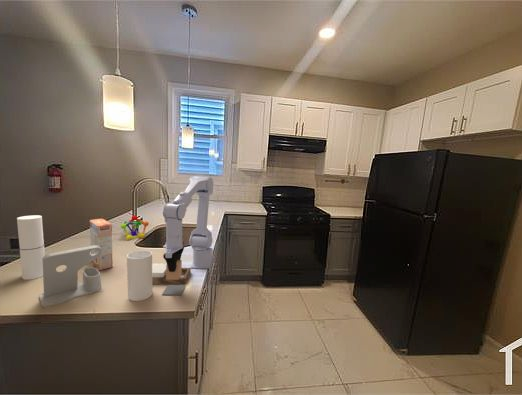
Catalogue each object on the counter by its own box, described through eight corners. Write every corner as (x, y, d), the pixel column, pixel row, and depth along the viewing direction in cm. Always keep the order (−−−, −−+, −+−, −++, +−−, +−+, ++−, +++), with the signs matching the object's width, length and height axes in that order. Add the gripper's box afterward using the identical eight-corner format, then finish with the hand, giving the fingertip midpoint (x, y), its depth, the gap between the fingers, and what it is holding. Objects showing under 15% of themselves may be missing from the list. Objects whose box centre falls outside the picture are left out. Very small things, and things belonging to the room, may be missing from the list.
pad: (185, 285, 95) (185, 284, 95) (180, 295, 88) (180, 294, 88) (167, 285, 95) (167, 284, 95) (162, 295, 88) (162, 294, 88)
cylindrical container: (19, 281, 92) (13, 219, 89) (26, 273, 99) (21, 215, 95) (42, 277, 96) (38, 218, 92) (48, 270, 102) (44, 214, 98)
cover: (170, 267, 105) (170, 263, 105) (163, 277, 96) (163, 272, 96) (149, 267, 104) (149, 263, 104) (140, 277, 95) (140, 272, 95)
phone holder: (96, 280, 96) (94, 238, 94) (103, 289, 89) (101, 245, 87) (39, 296, 83) (35, 248, 81) (42, 308, 77) (37, 256, 74)
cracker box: (113, 267, 108) (112, 223, 105) (98, 271, 104) (96, 225, 101) (105, 258, 117) (103, 217, 115) (90, 261, 113) (88, 219, 110)
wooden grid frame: (190, 272, 107) (190, 267, 106) (185, 284, 97) (185, 278, 96) (150, 272, 105) (150, 267, 105) (140, 283, 95) (140, 277, 95)
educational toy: (140, 234, 160) (142, 213, 159) (148, 239, 152) (150, 216, 150) (115, 236, 149) (117, 213, 148) (122, 242, 140) (124, 217, 139)
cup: (134, 288, 91) (133, 249, 89) (155, 288, 92) (155, 250, 90) (123, 301, 83) (122, 258, 81) (147, 301, 84) (146, 258, 82)
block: (181, 274, 93) (181, 260, 92) (178, 279, 89) (178, 264, 88) (170, 274, 93) (170, 259, 92) (166, 279, 88) (166, 264, 88)
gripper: (169, 229, 95) (169, 260, 97) (156, 240, 81) (156, 277, 83) (187, 229, 96) (186, 260, 98) (177, 241, 82) (177, 277, 83)
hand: (174, 268), depth 90 cm, fingers closed on block, 4 cm apart
